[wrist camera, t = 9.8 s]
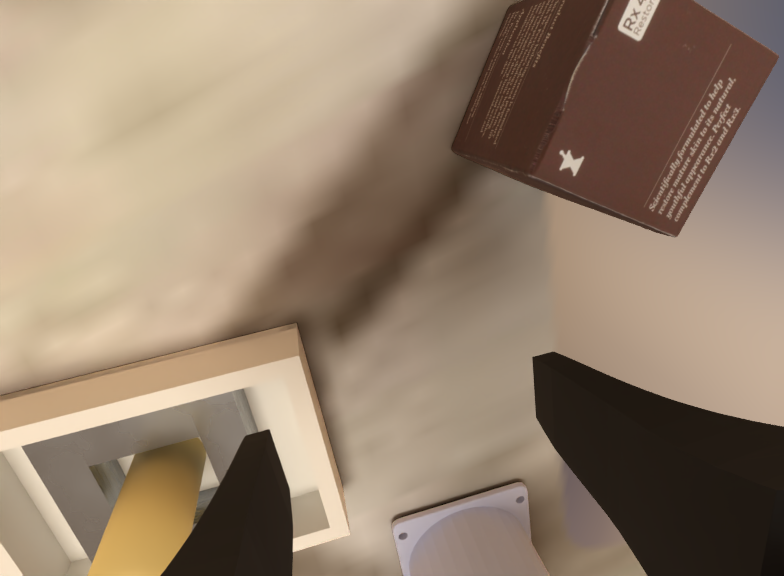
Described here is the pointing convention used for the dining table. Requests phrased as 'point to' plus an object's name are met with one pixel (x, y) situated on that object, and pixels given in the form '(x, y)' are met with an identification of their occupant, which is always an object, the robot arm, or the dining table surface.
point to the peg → (152, 511)
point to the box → (614, 103)
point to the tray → (156, 392)
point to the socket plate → (128, 437)
